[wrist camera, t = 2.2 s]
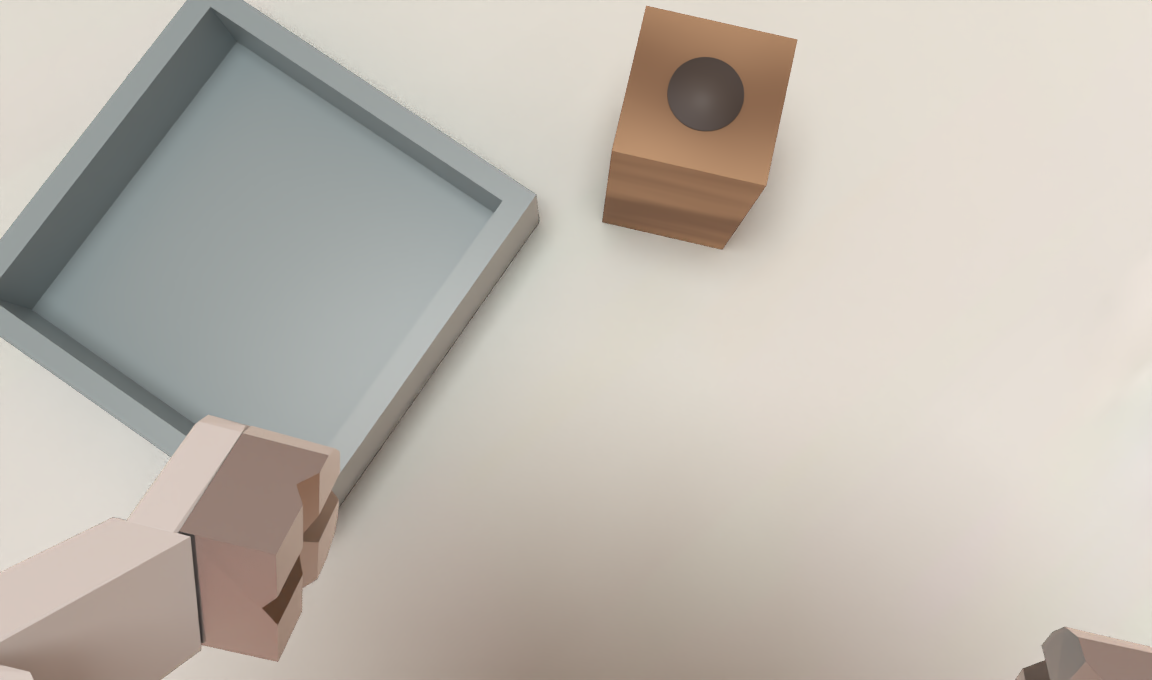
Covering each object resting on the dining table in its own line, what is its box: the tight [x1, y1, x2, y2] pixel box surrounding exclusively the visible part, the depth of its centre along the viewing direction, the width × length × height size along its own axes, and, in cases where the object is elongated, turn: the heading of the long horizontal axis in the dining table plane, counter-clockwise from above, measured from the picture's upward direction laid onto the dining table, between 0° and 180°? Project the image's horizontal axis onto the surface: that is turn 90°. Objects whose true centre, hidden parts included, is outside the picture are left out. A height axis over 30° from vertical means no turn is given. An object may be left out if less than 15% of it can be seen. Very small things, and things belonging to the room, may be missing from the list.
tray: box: [0, 0, 539, 508], centre depth 34 cm, size 14×14×4 cm
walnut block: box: [602, 6, 797, 249], centre depth 32 cm, size 4×4×8 cm
